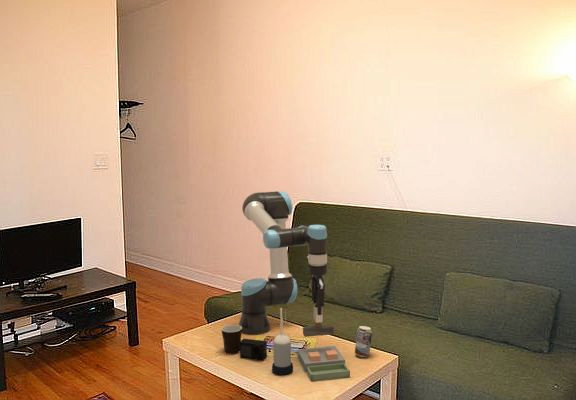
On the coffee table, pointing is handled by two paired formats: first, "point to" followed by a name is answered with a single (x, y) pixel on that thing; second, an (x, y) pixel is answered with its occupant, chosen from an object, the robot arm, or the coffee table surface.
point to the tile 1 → (314, 356)
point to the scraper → (318, 329)
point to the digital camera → (253, 349)
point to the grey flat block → (305, 362)
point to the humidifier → (282, 353)
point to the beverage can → (363, 341)
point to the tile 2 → (331, 354)
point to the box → (328, 372)
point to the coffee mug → (231, 338)
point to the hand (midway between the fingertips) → (318, 320)
